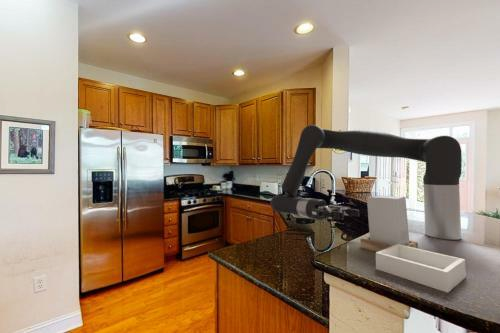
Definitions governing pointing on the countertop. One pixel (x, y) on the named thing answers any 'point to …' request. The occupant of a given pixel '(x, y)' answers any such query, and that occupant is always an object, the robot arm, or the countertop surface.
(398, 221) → the skincare box
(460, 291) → the countertop surface
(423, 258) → the tray
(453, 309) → the countertop surface
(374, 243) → the holder
